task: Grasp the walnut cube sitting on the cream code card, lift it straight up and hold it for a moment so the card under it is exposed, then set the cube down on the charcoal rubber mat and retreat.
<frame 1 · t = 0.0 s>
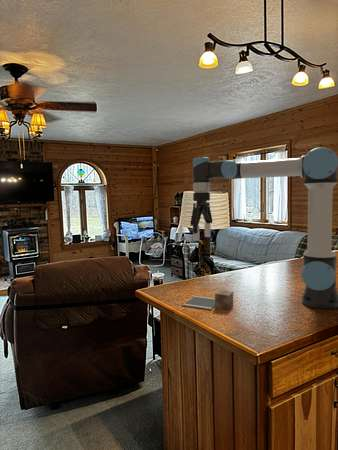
hand: (202, 238, 154), 28 cm above the countertop, fingers open, 13 cm apart
mat: (202, 304, 148), on the countertop
code card: (224, 307, 143), on the countertop
walnut block: (224, 306, 143), resting on code card
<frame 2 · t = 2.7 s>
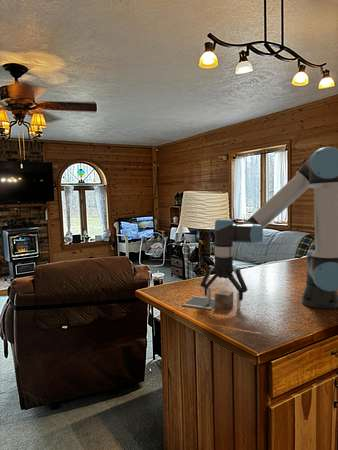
hand: (223, 305, 143), 1 cm above the countertop, fingers open, 13 cm apart
nothing on the countertop moved.
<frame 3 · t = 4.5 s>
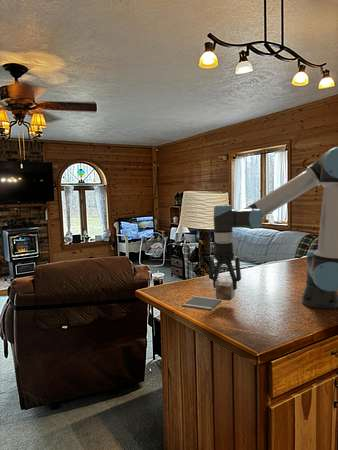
hand: (225, 296, 142), 5 cm above the countertop, fingers closed on walnut block, 6 cm apart
walnut block: (225, 297, 143), point 4 cm above the countertop, touching gripper
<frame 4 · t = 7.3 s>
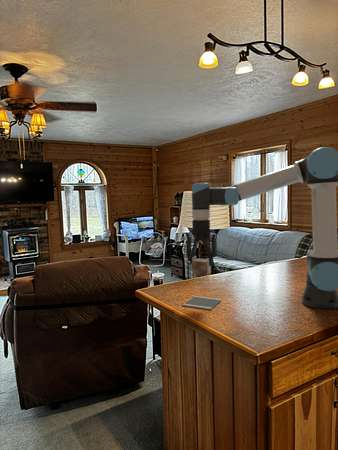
hand: (201, 272, 146), 14 cm above the countertop, fingers closed on walnut block, 6 cm apart
walnut block: (201, 273, 147), point 14 cm above the countertop, touching gripper
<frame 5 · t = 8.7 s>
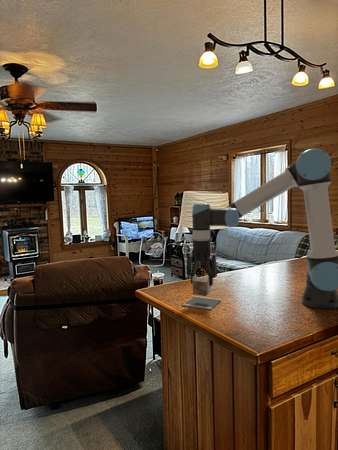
hand: (201, 291, 147), 6 cm above the countertop, fingers closed on walnut block, 6 cm apart
walnut block: (201, 293, 147), point 5 cm above the countertop, touching gripper
when the fingers open (1 cm above the countertop, at t = 10.0 s): walnut block stays where it is, resting on mat.
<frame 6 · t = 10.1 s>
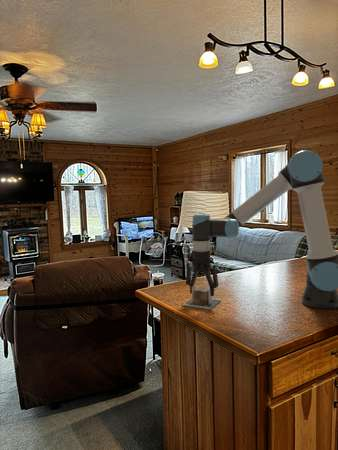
hand: (202, 301, 148), 1 cm above the countertop, fingers open, 7 cm apart
walnut block: (202, 302, 148), point 1 cm above the countertop, touching mat
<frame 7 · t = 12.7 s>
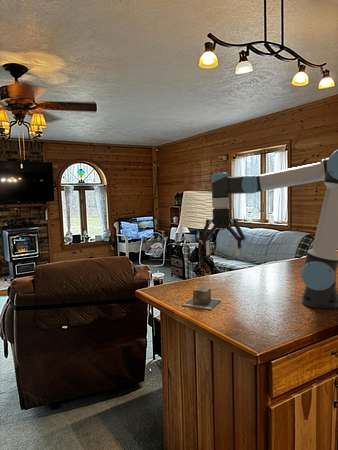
hand: (222, 255, 151), 21 cm above the countertop, fingers open, 13 cm apart
nothing on the countertop moved.
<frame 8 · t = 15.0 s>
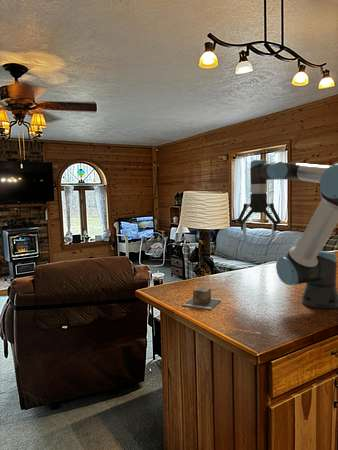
hand: (258, 237, 161), 27 cm above the countertop, fingers open, 13 cm apart
nothing on the countertop moved.
at the end: walnut block inside the target area on the mat (0.1 cm from its centre), point 0.8 cm above the mat's base; walnut block tilted 0°; walnut block moved 10.1 cm from its start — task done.
